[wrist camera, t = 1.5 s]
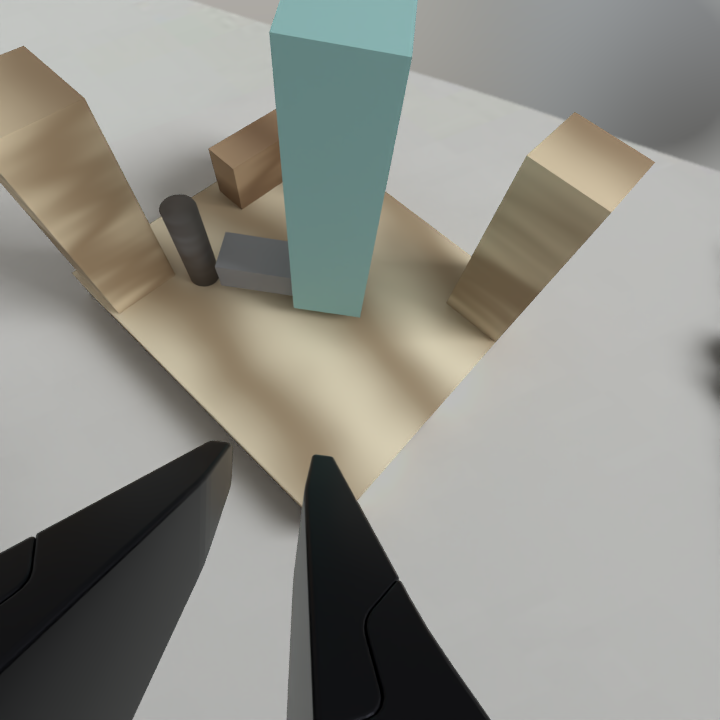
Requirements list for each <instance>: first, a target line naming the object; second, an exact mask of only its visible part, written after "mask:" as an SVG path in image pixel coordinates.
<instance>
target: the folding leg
mask: <svg viewBox="0 0 720 720" xmlns="http://www.w3.org/2000/svg"><path fill="white" fill-rule="evenodd" d="M416 10H417V0H280V2H279V5H278V8H277V11H276V14H275V17H274V20H273V23H272V26H271V29H270V32H269V33H270V45H271V56H272V67H273V79H274V90H275V101H276V113H277V124H278V135H279V147H280V158H281V169H282V181H283V192H284V204H285V215H286V226H287V238H288V241H283V240H276V239H270V238H263V237H257V236H250V235H244V234H237V233H230V232H225V236H224V239H223V242H222V245H221V249H220V252H219V255H218V258H217V262H216V265H215V269H216V272H217V274H218V277H219V280H220V283H221V285H222V286H229V287H236V288H243V289H249V290H256V291H263V292H270V293H277V294H283V295H290V296H293V306H294V308H298V309H305V310H312V311H319V312H325V313H332V314H339V315H346V316H353V317H360V315H361V310H362V305H363V300H364V295H365V290H366V285H367V280H368V275H369V270H370V265H371V260H372V255H373V250H374V245H375V240H376V235H377V230H378V225H379V220H380V215H381V210H382V205H383V200H384V195H385V190H386V185H387V180H388V175H389V170H390V165H391V160H392V155H393V150H394V145H395V140H396V135H397V130H398V125H399V120H400V115H401V110H402V105H403V100H404V95H405V90H406V85H407V80H408V75H409V70H410V65H411V59H412V52H413V41H414V31H415V21H416Z"/></svg>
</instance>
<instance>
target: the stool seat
mask: <svg viewBox="0 0 720 720" xmlns="http://www.w3.org/2000/svg"><path fill="white" fill-rule="evenodd" d="M209 153H210V156H211V160H212V164H213V168H214V171H215V175H216V179H217V182H215V183H214V184H212V185H210V186H209V187H207V188H206V189H204V190H203V191H201V192H199V193H198V194H196V195H195V196H193V197H189V196H186V195H173V196H170V197H168V198H166V199H165V200H164V201H163V202H162V203H161V205H160V207H159V212H160V214H161V217H160V218H158V219H157V220H155V221H153V222H152V223H150V224H149V222H148V221H147V219H146V217H145V215H144V213H143V211H142V209H141V207H140V205H139V203H138V201H137V199H136V197H135V195H134V193H133V191H132V190H131V188H130V186H129V184H128V182H127V180H126V178H125V176H124V174H123V172H122V170H121V168H120V166H119V164H118V162H117V160H116V159H115V157H114V155H113V153H112V151H111V149H110V147H109V145H108V143H107V141H106V139H105V137H104V135H103V133H102V131H101V129H100V127H99V126H98V124H97V122H96V120H95V118H94V116H93V114H92V112H91V110H90V108H89V106H88V104H87V102H86V100H85V98H84V97H82V96H81V95H80V94H79V93H78V92H77V91H75V90H74V89H73V88H72V87H71V86H70V85H69V84H67V83H66V82H65V81H64V80H63V79H62V78H60V77H59V76H58V75H57V74H56V73H55V72H53V71H52V70H51V69H50V68H49V67H48V66H46V65H45V64H44V63H43V62H42V61H41V60H40V59H38V58H37V57H36V56H35V55H34V54H33V53H31V52H30V51H29V50H28V49H27V48H26V47H24V46H22V47H19V48H17V49H14V50H12V51H9V52H7V53H4V54H2V55H0V183H1V184H2V185H3V186H4V187H5V189H6V190H7V191H8V192H9V193H10V194H11V195H12V197H13V198H14V199H15V200H16V201H17V202H18V203H19V205H20V206H21V207H22V208H23V209H24V210H25V212H26V213H27V214H28V215H29V216H30V217H31V218H32V220H33V221H34V222H35V223H36V224H37V225H38V227H39V228H40V229H41V230H42V231H43V232H44V233H45V235H46V236H47V237H48V238H49V239H50V240H51V241H52V243H53V244H54V245H55V246H56V247H57V248H58V250H59V251H60V252H61V253H62V254H63V255H64V256H65V258H66V259H67V260H68V261H69V262H70V263H71V265H72V266H73V267H74V268H75V269H76V271H74V272H73V273H72V274H73V275H74V276H75V277H76V278H77V279H78V280H79V281H80V283H81V284H82V285H83V286H84V287H85V288H86V289H87V290H88V292H89V293H90V294H91V295H92V296H93V297H94V298H95V299H96V300H97V301H98V302H99V303H100V304H101V305H102V306H103V307H104V308H105V309H106V310H107V311H108V312H109V313H110V314H111V315H112V316H113V317H114V318H115V319H116V320H117V321H118V322H119V323H120V324H121V325H122V326H123V327H124V328H125V329H126V330H127V331H128V332H129V333H130V334H131V335H132V336H133V337H134V338H135V339H136V340H137V341H138V342H139V343H140V344H141V345H142V346H143V347H144V349H145V350H146V351H147V352H148V353H149V354H150V355H151V356H152V357H153V358H154V359H155V360H156V361H157V362H158V363H159V364H160V365H161V366H162V367H163V368H164V369H165V370H166V371H167V372H168V373H169V374H170V375H171V376H172V377H173V378H174V379H175V380H176V381H177V382H178V383H179V384H180V385H181V386H182V387H183V388H184V389H185V390H186V391H187V392H188V393H189V394H190V395H191V396H192V397H193V398H194V399H195V400H196V401H197V402H198V403H199V404H200V405H201V406H202V407H203V408H204V409H205V410H206V411H207V412H208V413H209V414H210V415H211V416H212V417H213V418H214V419H215V421H216V422H217V423H218V424H219V425H220V426H221V427H222V428H223V429H224V430H225V431H226V432H227V433H228V434H229V435H230V436H231V437H232V438H233V439H234V440H235V441H236V442H237V443H238V444H239V445H240V446H241V447H242V448H243V449H244V450H245V451H246V452H247V453H248V454H249V455H250V456H251V457H252V458H253V459H254V460H255V461H256V462H257V463H258V464H259V465H260V466H261V467H262V468H263V469H264V470H265V471H266V472H267V473H268V474H269V475H270V476H271V477H272V478H273V479H274V480H275V481H276V482H277V483H278V484H279V485H280V486H281V487H282V488H283V489H284V490H285V491H286V493H287V494H288V495H289V496H290V497H291V498H292V499H293V500H294V501H295V502H296V503H297V504H298V505H299V506H300V507H301V508H302V504H303V496H304V489H305V484H306V479H307V475H308V471H309V466H310V462H311V458H312V456H313V455H314V454H318V455H326V456H332V457H333V458H334V459H335V461H336V463H337V465H338V467H339V469H340V470H341V472H342V474H343V476H344V478H345V480H346V481H347V483H348V485H349V487H350V489H351V491H352V492H353V494H354V496H355V498H356V500H358V499H359V498H360V497H361V495H362V494H363V493H364V492H365V491H366V490H367V489H368V487H369V486H370V485H371V484H372V483H373V482H374V481H375V479H376V478H377V477H378V476H379V475H380V474H381V473H382V471H383V470H384V469H385V468H386V467H387V466H388V464H389V463H390V462H391V461H392V460H393V459H394V458H395V456H396V455H397V454H398V453H399V452H400V451H401V450H402V448H403V447H404V446H405V445H406V444H407V443H408V442H409V440H410V439H411V438H412V437H413V436H414V435H415V434H416V432H417V431H418V430H419V429H420V428H421V427H422V426H423V424H424V423H425V422H426V421H427V420H428V419H429V418H430V416H431V415H432V414H433V413H434V412H435V411H436V410H437V408H438V407H439V406H440V405H441V404H442V403H443V402H444V400H445V399H446V398H447V397H448V396H449V395H450V394H451V392H452V391H453V390H454V389H455V388H456V387H457V386H458V384H459V383H460V382H461V381H462V380H463V379H464V378H465V376H466V375H467V374H468V373H469V372H470V371H471V369H472V368H473V367H474V366H475V365H476V364H477V363H478V361H479V360H480V359H481V358H482V357H483V356H484V355H485V353H486V352H487V351H488V350H489V349H490V348H491V347H492V345H493V344H494V343H495V342H496V341H497V340H498V339H499V338H500V336H501V335H502V334H503V333H504V332H505V331H506V330H507V329H508V327H509V326H510V325H511V324H512V323H513V322H514V321H515V320H516V319H517V317H518V316H519V315H520V314H521V313H522V312H523V311H524V310H525V308H526V307H527V306H528V305H529V304H530V303H531V302H532V301H533V300H534V298H535V297H536V296H537V295H538V294H539V293H540V292H541V291H542V289H543V288H544V287H545V286H546V285H547V284H548V283H549V282H550V281H551V279H552V278H553V277H554V276H555V275H556V274H557V273H558V272H559V270H560V269H561V268H562V267H563V266H564V265H565V264H566V263H567V262H568V260H569V259H570V258H571V257H572V256H573V255H574V254H575V253H576V251H577V250H578V249H579V248H580V247H581V246H582V245H583V244H584V243H585V241H586V240H587V239H588V238H589V237H590V236H591V235H592V234H593V232H594V231H595V230H596V229H597V228H598V227H599V226H600V225H601V223H602V222H603V221H604V220H605V219H606V218H607V217H608V216H609V215H610V213H611V212H612V211H613V210H614V209H615V208H616V207H617V205H618V204H619V203H620V202H621V201H622V200H623V199H624V197H625V196H626V195H627V194H628V193H629V192H630V190H631V189H632V188H633V187H634V186H635V185H636V184H637V182H638V181H639V180H640V179H641V178H642V177H643V175H644V174H645V173H646V172H647V171H648V170H649V169H650V167H651V166H652V165H653V164H654V163H655V162H654V161H652V160H651V159H649V158H647V157H646V156H644V155H643V154H641V153H639V152H638V151H636V150H635V149H633V148H632V147H630V146H628V145H627V144H625V143H624V142H622V141H620V140H619V139H617V138H616V137H614V136H612V135H611V134H609V133H608V132H606V131H604V130H603V129H601V128H599V127H598V126H596V125H595V124H593V123H592V122H590V121H588V120H587V119H585V118H584V117H582V116H580V115H579V114H577V113H575V112H574V113H573V115H571V116H570V117H569V118H568V119H567V120H566V121H564V122H563V123H562V124H561V125H560V126H559V127H558V128H557V129H556V130H555V131H553V132H552V133H551V134H550V135H549V136H548V137H547V138H546V139H545V140H543V141H542V142H541V143H540V144H539V145H538V146H537V147H536V148H535V149H533V150H532V151H531V152H530V153H529V154H528V155H527V156H526V158H525V160H524V162H523V163H522V165H521V167H520V169H519V171H518V172H517V174H516V176H515V178H514V180H513V182H512V183H511V185H510V187H509V189H508V191H507V193H506V194H505V196H504V198H503V200H502V202H501V204H500V205H499V207H498V209H497V211H496V213H495V215H494V216H493V218H492V220H491V222H490V224H489V226H488V227H487V229H486V231H485V233H484V235H483V237H482V238H481V240H480V242H479V244H478V246H477V248H476V249H475V251H474V253H473V255H472V257H471V256H470V255H469V254H467V253H466V252H465V251H463V250H462V249H461V248H459V247H458V246H457V245H455V244H454V243H453V242H452V241H450V240H449V239H448V238H446V237H445V236H444V235H442V234H441V233H440V232H438V231H437V230H436V229H434V228H433V227H432V226H430V225H429V224H428V223H426V222H425V221H424V220H422V219H421V218H420V217H418V216H417V215H416V214H414V213H413V212H412V211H410V210H409V209H408V208H406V207H405V206H404V205H403V204H401V203H400V202H399V201H397V200H396V199H395V198H393V197H392V196H391V195H389V194H388V193H387V192H385V195H384V200H383V205H382V210H381V215H380V220H379V225H378V230H377V235H376V240H375V245H374V250H373V255H372V260H371V265H370V270H369V275H368V280H367V285H366V290H365V295H364V300H363V305H362V310H361V315H360V317H353V316H346V315H339V314H332V313H325V312H319V311H312V310H305V309H298V308H294V306H293V296H290V295H283V294H277V293H270V292H263V291H256V290H249V289H243V288H236V287H229V286H222V285H221V283H220V280H219V277H218V274H217V272H216V269H215V265H216V262H217V258H218V255H219V252H220V249H221V245H222V242H223V239H224V236H225V232H230V233H237V234H244V235H250V236H257V237H263V238H270V239H276V240H283V241H288V238H287V226H286V215H285V204H284V192H283V181H282V169H281V158H280V147H279V135H278V124H277V113H276V109H275V110H273V111H272V112H270V113H268V114H266V115H265V116H263V117H261V118H260V119H258V120H256V121H255V122H253V123H251V124H250V125H248V126H246V127H244V128H243V129H241V130H239V131H238V132H236V133H234V134H233V135H231V136H229V137H228V138H226V139H224V140H222V141H221V142H219V143H217V144H216V145H214V146H212V147H211V148H209Z"/></svg>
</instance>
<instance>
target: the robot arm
mask: <svg viewBox="0 0 720 720" xmlns="http://www.w3.org/2000/svg"><path fill="white" fill-rule="evenodd" d="M232 457H233V447H232V445H231V444H230V443H227V442H220V441H209V442H207V443H205V444H203V445H201V446H199V447H197V448H196V449H194V450H192V451H190V452H188V453H186V454H184V455H183V456H181V457H179V458H177V459H175V460H173V461H171V462H169V463H168V464H166V465H164V466H162V467H160V468H158V469H156V470H155V471H153V472H151V473H149V474H147V475H145V476H143V477H142V478H140V479H138V480H136V481H134V482H132V483H130V484H128V485H127V486H125V487H123V488H121V489H119V490H117V491H115V492H114V493H112V494H110V495H108V496H106V497H104V498H102V499H101V500H99V501H97V502H95V503H93V504H91V505H89V506H87V507H86V508H84V509H82V510H80V511H78V512H76V513H74V514H73V515H71V516H69V517H67V518H65V519H63V520H61V521H60V522H58V523H56V524H54V525H52V526H50V527H48V528H46V529H45V530H43V531H41V532H39V533H37V535H36V539H35V537H29V538H27V539H26V540H24V541H22V542H20V543H18V544H16V545H14V546H13V547H11V548H9V549H7V550H5V551H3V552H1V553H0V720H132V719H133V717H134V715H135V713H136V710H137V708H138V706H139V704H140V702H141V700H142V698H143V695H144V693H145V691H146V689H147V687H148V685H149V683H150V680H151V678H152V676H153V674H154V672H155V670H156V668H157V665H158V663H159V661H160V659H161V657H162V655H163V653H164V650H165V648H166V646H167V644H168V642H169V640H170V637H171V635H172V633H173V631H174V629H175V627H176V625H177V622H178V620H179V618H180V616H181V614H182V612H183V610H184V607H185V605H186V603H187V601H188V599H189V597H190V595H191V592H192V590H193V588H194V586H195V584H196V582H197V579H198V577H199V575H200V573H201V571H202V568H203V566H204V564H205V561H206V558H207V555H208V552H209V550H210V547H211V544H212V541H213V538H214V535H215V532H216V529H217V526H218V523H219V520H220V517H221V514H222V511H223V508H224V505H225V502H226V499H227V496H228V493H229V489H230V485H231V478H232ZM287 720H491V719H490V718H489V717H488V715H487V714H486V712H485V711H484V709H483V708H482V707H481V705H480V704H479V702H478V701H477V699H476V698H475V697H474V695H473V694H472V692H471V691H470V689H469V688H468V687H467V685H466V684H465V682H464V681H463V679H462V678H461V677H460V675H459V674H458V672H457V671H456V669H455V668H454V667H453V665H452V664H451V662H450V661H449V659H448V658H447V656H446V655H445V653H444V652H443V650H442V649H441V647H440V646H439V644H438V643H437V641H436V640H435V638H434V637H433V635H432V634H431V632H430V631H429V629H428V628H427V626H426V624H425V623H424V621H423V619H422V617H421V616H420V614H419V612H418V611H417V609H416V607H415V605H414V604H413V602H412V600H411V599H410V597H409V595H408V593H407V591H406V589H405V587H404V585H403V584H402V582H401V581H399V577H398V575H397V573H396V571H395V569H394V568H393V566H392V564H391V562H390V560H389V558H388V557H387V555H386V553H385V551H384V549H383V547H382V546H381V544H380V542H379V540H378V538H377V536H376V535H375V533H374V531H373V529H372V527H371V525H370V524H369V522H368V520H367V518H366V516H365V514H364V513H363V511H362V509H361V507H360V505H359V503H358V502H357V500H356V498H355V496H354V494H353V492H352V491H351V489H350V487H349V485H348V483H347V481H346V480H345V478H344V476H343V474H342V472H341V470H340V469H339V467H338V465H337V463H336V461H335V459H334V458H333V457H332V456H326V455H318V454H314V455H313V456H312V458H311V462H310V466H309V471H308V475H307V479H306V484H305V489H304V496H303V504H302V512H301V520H300V528H299V536H298V544H297V552H296V560H295V568H294V579H293V595H292V616H291V637H290V658H289V679H288V700H287Z"/></svg>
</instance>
